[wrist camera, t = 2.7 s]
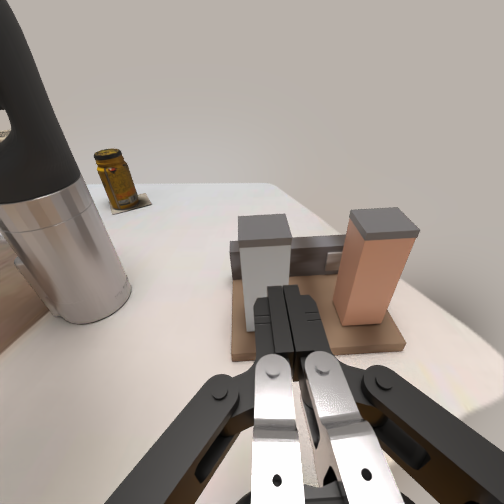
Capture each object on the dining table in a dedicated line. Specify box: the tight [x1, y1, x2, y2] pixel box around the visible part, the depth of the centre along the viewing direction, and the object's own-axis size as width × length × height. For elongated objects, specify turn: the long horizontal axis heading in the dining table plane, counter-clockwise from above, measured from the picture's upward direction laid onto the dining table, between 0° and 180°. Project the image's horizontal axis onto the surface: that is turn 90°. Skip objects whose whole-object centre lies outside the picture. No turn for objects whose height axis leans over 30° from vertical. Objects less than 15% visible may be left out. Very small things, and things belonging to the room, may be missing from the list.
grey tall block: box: [238, 214, 292, 332], centre depth 28 cm, size 5×4×13 cm
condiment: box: [94, 149, 151, 214], centre depth 58 cm, size 7×8×12 cm
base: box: [230, 235, 406, 362], centre depth 33 cm, size 19×14×6 cm
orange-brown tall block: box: [332, 207, 420, 326], centre depth 28 cm, size 5×4×13 cm
